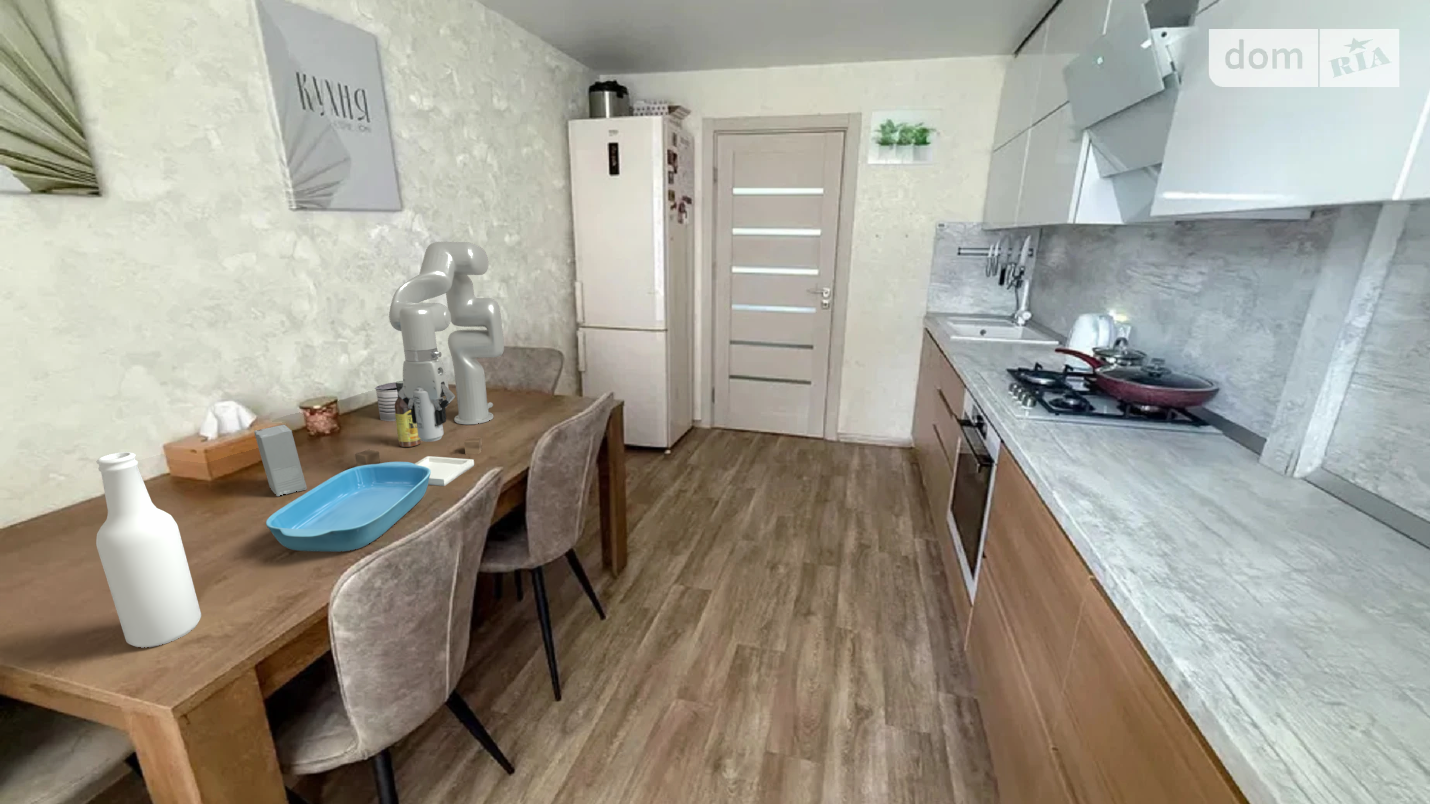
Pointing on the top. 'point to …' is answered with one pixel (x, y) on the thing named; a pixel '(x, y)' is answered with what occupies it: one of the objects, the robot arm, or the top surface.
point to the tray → (445, 468)
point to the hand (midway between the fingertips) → (429, 422)
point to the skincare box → (280, 460)
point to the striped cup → (387, 401)
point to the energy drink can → (426, 416)
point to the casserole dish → (350, 507)
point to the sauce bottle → (405, 422)
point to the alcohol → (143, 559)
